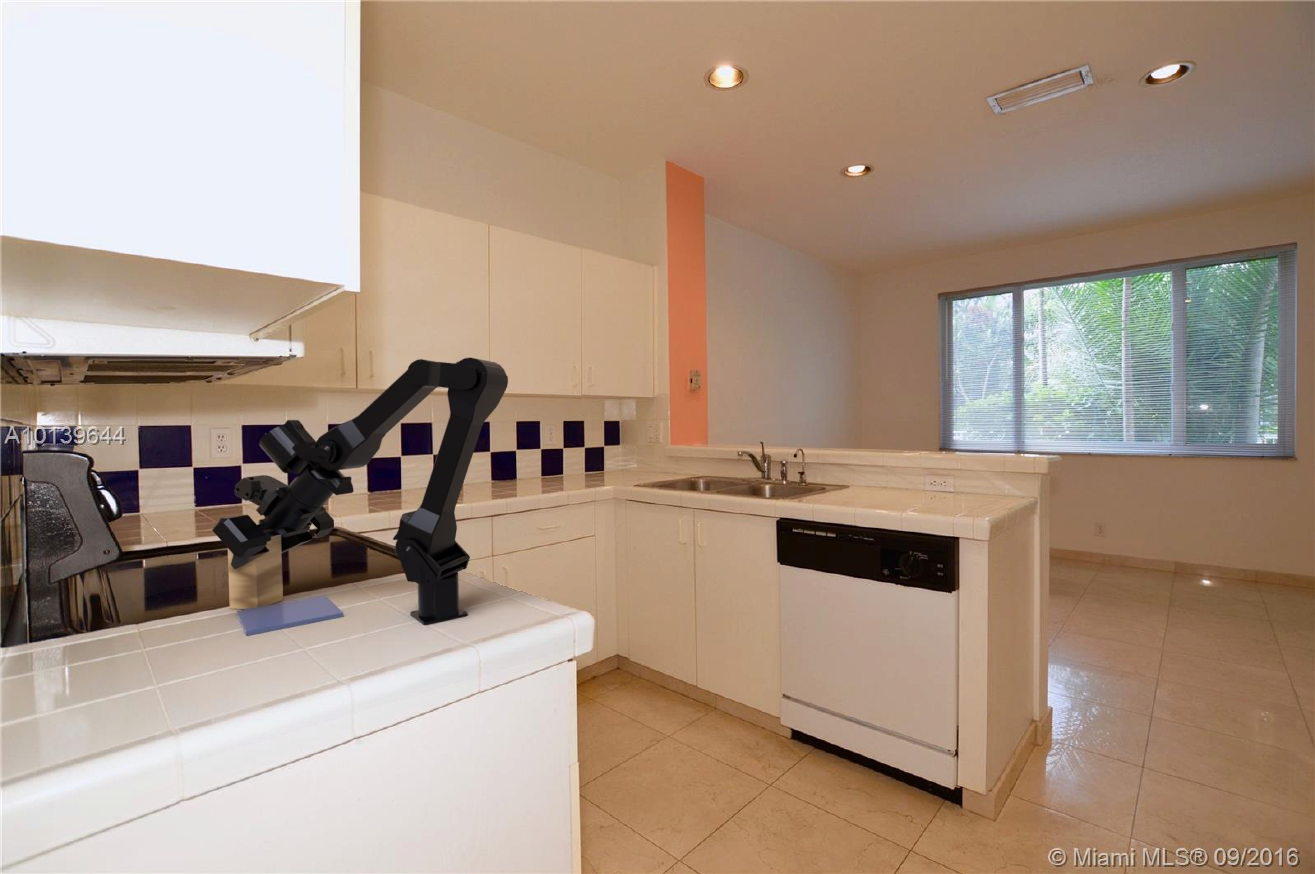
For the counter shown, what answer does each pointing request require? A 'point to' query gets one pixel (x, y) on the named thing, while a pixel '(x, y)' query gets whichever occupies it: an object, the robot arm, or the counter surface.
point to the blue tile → (287, 614)
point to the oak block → (257, 579)
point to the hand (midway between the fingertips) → (248, 562)
